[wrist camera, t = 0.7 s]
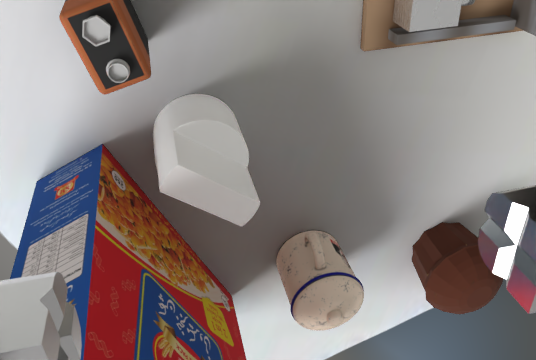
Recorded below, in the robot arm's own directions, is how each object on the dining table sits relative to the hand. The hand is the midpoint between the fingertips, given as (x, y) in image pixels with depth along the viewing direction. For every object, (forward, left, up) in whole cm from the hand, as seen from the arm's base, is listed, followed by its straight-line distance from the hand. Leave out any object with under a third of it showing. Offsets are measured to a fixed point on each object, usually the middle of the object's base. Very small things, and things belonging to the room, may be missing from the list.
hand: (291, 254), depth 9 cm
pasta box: (+33, -7, -41) cm, 53 cm away
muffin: (+43, +32, -41) cm, 67 cm away
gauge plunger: (+5, +25, -39) cm, 46 cm away
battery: (+6, -6, -40) cm, 41 cm away
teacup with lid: (+38, +12, -40) cm, 57 cm away
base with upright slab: (+19, 0, -41) cm, 45 cm away
